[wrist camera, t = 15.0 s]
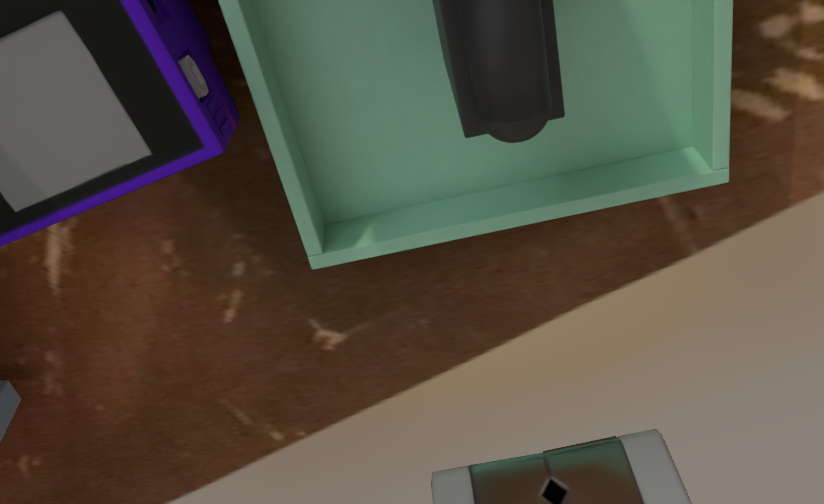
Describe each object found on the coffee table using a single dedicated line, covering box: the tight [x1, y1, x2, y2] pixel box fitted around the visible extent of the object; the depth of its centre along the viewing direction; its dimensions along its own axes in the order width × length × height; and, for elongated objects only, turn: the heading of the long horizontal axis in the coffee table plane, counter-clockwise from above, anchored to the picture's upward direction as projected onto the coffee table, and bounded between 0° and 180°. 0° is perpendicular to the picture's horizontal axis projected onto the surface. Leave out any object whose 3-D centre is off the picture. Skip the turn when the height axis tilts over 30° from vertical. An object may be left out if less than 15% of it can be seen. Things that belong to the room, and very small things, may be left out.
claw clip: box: [432, 0, 565, 143], centre depth 22 cm, size 5×3×7 cm, turn 12°
